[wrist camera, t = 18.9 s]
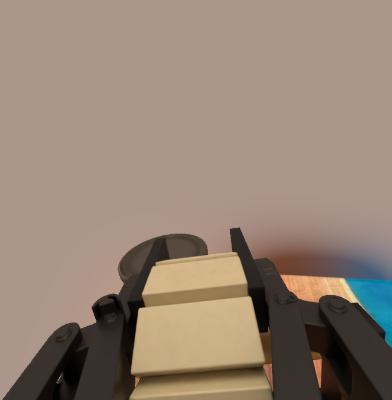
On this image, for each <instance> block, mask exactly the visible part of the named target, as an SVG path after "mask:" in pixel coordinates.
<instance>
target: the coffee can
mask: <svg viewBox="0 0 392 400" xmlns="http://www.w3.org/2000/svg"><path fill="white" fill-rule="evenodd" d="M163 237H165V238H166V243H167V248H168V252H169V257H170V260H172V259H180V258H188V257H196V256H204V255H208V249H207V245H206V243H205V242H204V241H203V240H202V239H201V238H199V237H197V236H194V235H190V234H170V235H163V236H159V237H156V238H163ZM156 238H152V239H150V240H147V241H145V242H143V243H141V244H139V245H137V246H135V247H134V248H132V249H131V250H130V251H128V252H127V253H126V254H125V255H124V256H123V257H122V259H121V261H120V262H119V266H118V272H119V276H120V278H121V280H122V281H123V284H124V283H125V281H126V280H127V279H128V278H129V277H130V276H131V275H133V274H140V272H141V270H142V268H143V265H144V263H145V261H146V259H147V257H148V254H149V252H150V250H151V248H152V246H153V243H154V241H155V239H156Z"/></svg>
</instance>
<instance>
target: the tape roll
mask: <svg viewBox="0 0 392 400" xmlns="http://www.w3.org/2000/svg"><path fill="white" fill-rule="evenodd" d="M142 297H143V301H144V305H145V308H140V309H139V311H138V318H137V326H136V334H135V342H134V350H133V358H132V366H131V374H132V375H136V376H141V379H140V380H139V382H138V384H137V385H136V387H135V389H134V391H133V392H132V394H131V396H130V398H129V400H273V395H272V390H271V386H270V383H269V381H268V378H267V376H266V373H265V371H264V368H263V365H264V364H265V361H266V360H265V356H264V351H263V347H262V343H261V338H260V334H259V329H258V325H257V321H256V316H255V312H254V307H253V303H252V299H251V297H249V294H248V283H247V280H246V277H245V274H244V271H243V268H242V264H241V261H240V258H239V256H238V254H237V253H236V252H230V253H221V254H213V255H204V256H196V257H188V258H180V259H172V260H164V261H160V262H156V266H153V267H152V269H151V272H150V275H149V277H148V280H147V282H146V285H145V288H144V290H143V293H142Z"/></svg>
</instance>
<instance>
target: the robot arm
mask: <svg viewBox="0 0 392 400" xmlns="http://www.w3.org/2000/svg"><path fill="white" fill-rule="evenodd" d="M230 235H231V243H232V252H236V253H237V254H238V256H239V258H240V261H241V264H242V268H243V271H244V274H245V277H246V280H247V283H248V294H249V297H251V299H252V303H253V307H254V312H255V316H256V321H257V325H258V329H259V333H267V332H268V327H269V330H270V340H271V358H272V375H273V392H274V400H322V397H321V393H320V388H319V384H318V380H317V376H316V371H315V367H314V363H313V359H312V355H311V352H315V353H320V355H321V357H322V359H323V361H324V363H325V364H326V366H327V368H328V370H329V372H330V374H331V376H332V378H333V379H334V381H335V383H336V385H337V387H338V389H339V391H340V393H341V394H342V396H343V398H344V400H392V348H391V347H390V346H389V345H388V344H387V343H386V342H385V340H384V339H383V338H382V337H381V336H380V335H379V334H378V333H377V331H376V330H375V329H374V328H373V327H372V326H371V325H370V324H369V322H368V321H367V320H366V319H365V318H364V317H363V316H362V314H361V313H360V312H359V311H358V310H357V309H356V308H355V307H354V305H353V304H351V303H350V302H349V301H348V300H346V299H344V298H342V297H339V296H335V295H325V296H322V297H321V298H320V299H319V303H316V302H309V301H304V300H301V299H298V298H297V296H296V295H295V294H294V293H293V292H290V291H289V290H288V289H287V287H286V285H285V283H284V282H283V280H282V278H281V276H280V275H279V274H278V271H277V269H276V268H275V266H274V264H273V262H271V261H270V260H268V259H267V258H263V259H255V260H253V258H252V255H251V253H250V251H249V248H248V246H247V243H246V241H245V239H244V236H243V234H242V232H241V230H240V228H232V229H230ZM164 260H170V257H169V252H168V248H167V243H166V238H165V237H163V238H156V239H155V241H154V243H153V246H152V248H151V250H150V252H149V254H148V257H147V259H146V261H145V263H144V265H143V268H142V270H141V272H140V274H133V275H131V276H130V277H129V278H128V279H127V280H126V281H125V283H124V285H123V287H122V289H121V291H120V293H119V295H117V294H109V295H106V296H104V297H102V298H100V299H98V300H97V301H96V302H95V303H94V305H93V306H92V310H93V313H94V316H95V318H96V321H97V322H96V323H94V324H92V325H89V326H87V327H84V328H81V329H80V327H79V325H78V324H77V323H68V324H65V325H63V326H61V327H60V328H58V329H57V330H56V331H54V333H53V334H52V335H51V336H50V337H49V338H48V340H47V341H46V342H45V344H44V345H43V346H42V348H41V349H40V350H39V352H38V353H37V354H36V356H35V357H34V358H33V360H32V361H31V363H30V364H29V365H28V366H27V368H26V369H25V370H24V372H23V373H22V374H21V376H20V377H19V378H18V380H17V381H16V382H15V384H14V385H13V386H12V388H11V389H10V390H9V392H8V393H7V394H6V396H5V397H4V398H3V400H129V398H130V396H131V394H132V392H133V391H134V389H135V376H136V375H132V374H131V366H132V358H133V350H134V342H135V334H136V326H137V318H138V311H139V309H140V308H145V305H144V301H143V297H142V293H143V290H144V288H145V285H146V282H147V280H148V277H149V275H150V272H151V269H152V267H153V266H156V262H160V261H164ZM60 375H61V377H60ZM59 377H60V379H59ZM58 379H59V381H58ZM57 381H58V382H57ZM56 382H57V383H56Z"/></svg>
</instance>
